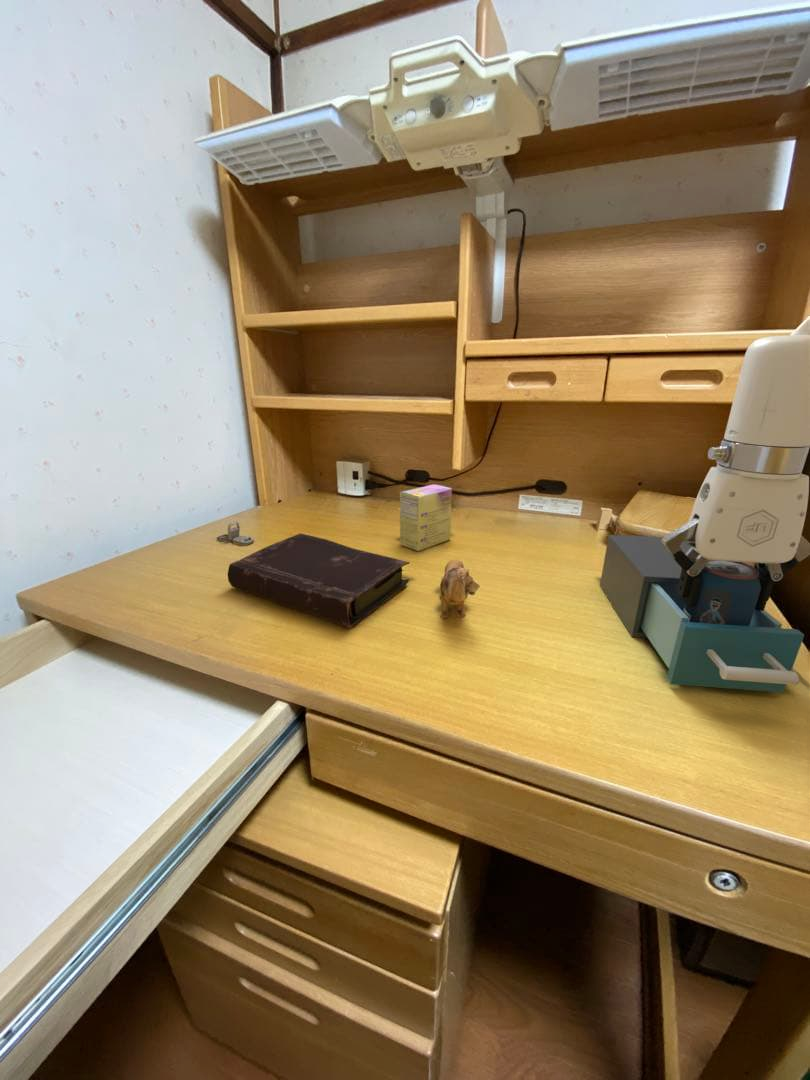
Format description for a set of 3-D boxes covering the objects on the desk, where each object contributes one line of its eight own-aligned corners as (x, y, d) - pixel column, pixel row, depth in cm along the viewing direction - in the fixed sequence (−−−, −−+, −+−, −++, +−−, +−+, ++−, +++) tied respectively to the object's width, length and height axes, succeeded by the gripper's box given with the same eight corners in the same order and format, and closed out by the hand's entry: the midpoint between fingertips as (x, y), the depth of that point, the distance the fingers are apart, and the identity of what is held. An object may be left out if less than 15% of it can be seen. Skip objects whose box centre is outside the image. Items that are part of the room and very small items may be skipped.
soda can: (722, 639, 62) (746, 557, 57) (749, 671, 55) (779, 581, 51) (666, 634, 63) (686, 553, 58) (687, 665, 56) (711, 576, 52)
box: (431, 533, 105) (433, 483, 101) (450, 540, 102) (453, 487, 97) (398, 545, 99) (399, 491, 94) (418, 552, 95) (419, 496, 91)
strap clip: (255, 542, 99) (253, 523, 98) (245, 546, 97) (243, 527, 95) (226, 536, 103) (223, 517, 101) (215, 540, 100) (212, 521, 99)
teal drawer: (811, 721, 49) (837, 660, 46) (688, 711, 50) (705, 650, 48) (715, 623, 68) (729, 575, 65) (627, 617, 69) (637, 570, 66)
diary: (347, 632, 66) (345, 601, 64) (229, 590, 78) (225, 563, 76) (411, 583, 81) (412, 557, 79) (304, 554, 93) (302, 531, 91)
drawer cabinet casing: (733, 644, 64) (752, 582, 61) (631, 637, 66) (644, 576, 62) (681, 590, 80) (693, 538, 76) (599, 585, 81) (608, 534, 78)
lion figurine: (478, 630, 67) (482, 574, 64) (442, 630, 67) (444, 574, 64) (461, 585, 81) (464, 537, 78) (431, 585, 81) (433, 537, 77)
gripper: (691, 463, 48) (656, 614, 54) (876, 468, 46) (818, 624, 52) (662, 450, 55) (634, 585, 61) (822, 455, 53) (776, 593, 59)
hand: (719, 602), depth 56 cm, fingers closed on soda can, 7 cm apart
